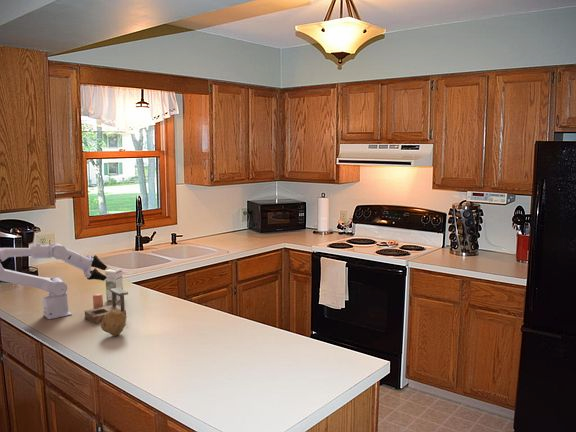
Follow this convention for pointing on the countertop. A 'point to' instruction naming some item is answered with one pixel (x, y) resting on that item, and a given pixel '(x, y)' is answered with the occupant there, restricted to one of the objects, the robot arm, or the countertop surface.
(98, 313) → the socket station
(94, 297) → the peg
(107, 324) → the natural sponge
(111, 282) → the syrup box
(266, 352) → the countertop surface
